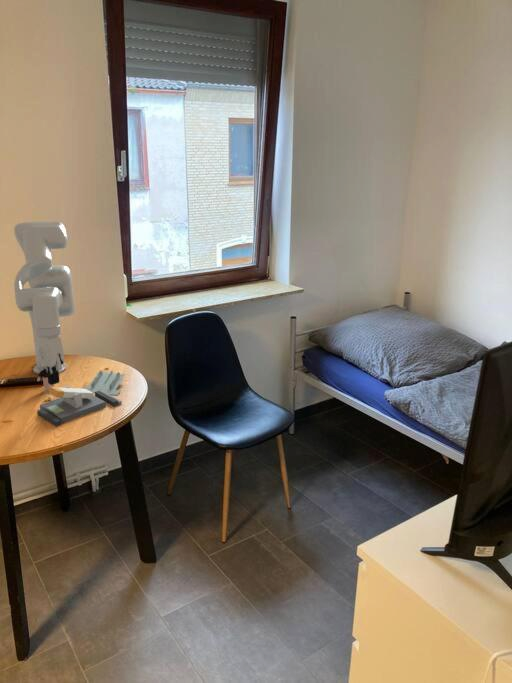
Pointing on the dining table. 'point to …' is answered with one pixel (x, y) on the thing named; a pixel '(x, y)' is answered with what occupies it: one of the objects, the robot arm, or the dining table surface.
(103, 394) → the pair of grey rails
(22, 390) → the dining table surface
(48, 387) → the grandmother figurine
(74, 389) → the rocker lever
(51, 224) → the robot arm
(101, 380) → the metal bracket
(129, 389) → the dining table surface
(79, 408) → the panel
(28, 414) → the dining table surface
